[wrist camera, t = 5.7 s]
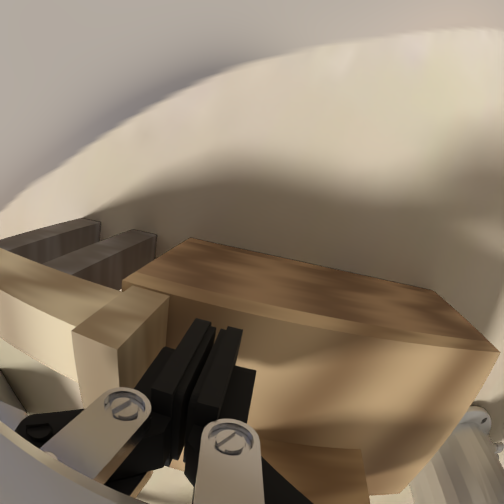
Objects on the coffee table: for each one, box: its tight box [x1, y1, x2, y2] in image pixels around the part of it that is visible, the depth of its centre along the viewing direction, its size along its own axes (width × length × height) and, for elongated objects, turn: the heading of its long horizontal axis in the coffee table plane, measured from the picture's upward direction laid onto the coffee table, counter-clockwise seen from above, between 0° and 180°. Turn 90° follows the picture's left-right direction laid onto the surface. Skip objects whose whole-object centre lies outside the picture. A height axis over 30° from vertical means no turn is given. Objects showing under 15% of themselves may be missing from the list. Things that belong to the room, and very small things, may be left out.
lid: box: [122, 272, 500, 504], centre depth 11 cm, size 18×12×8 cm, turn 79°
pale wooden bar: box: [0, 248, 170, 408], centre depth 10 cm, size 11×3×4 cm, turn 79°
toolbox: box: [0, 218, 489, 342], centre depth 17 cm, size 28×12×10 cm, turn 79°
